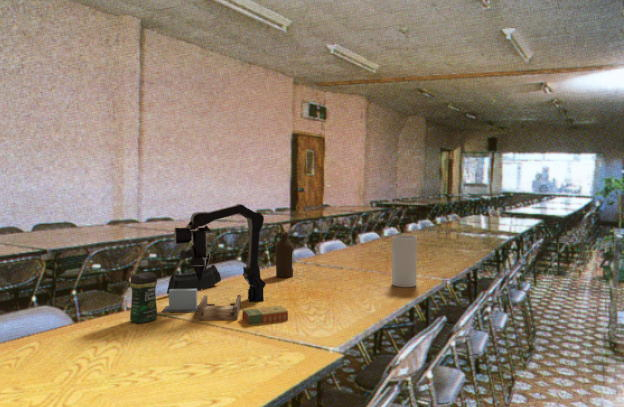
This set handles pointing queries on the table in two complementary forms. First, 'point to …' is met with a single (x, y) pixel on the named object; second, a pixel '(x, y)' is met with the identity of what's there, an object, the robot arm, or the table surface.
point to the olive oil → (284, 257)
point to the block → (182, 299)
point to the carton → (265, 315)
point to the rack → (218, 317)
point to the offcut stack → (218, 310)
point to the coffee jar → (143, 297)
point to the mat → (178, 310)
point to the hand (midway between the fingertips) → (201, 278)
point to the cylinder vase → (404, 261)
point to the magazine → (194, 280)
